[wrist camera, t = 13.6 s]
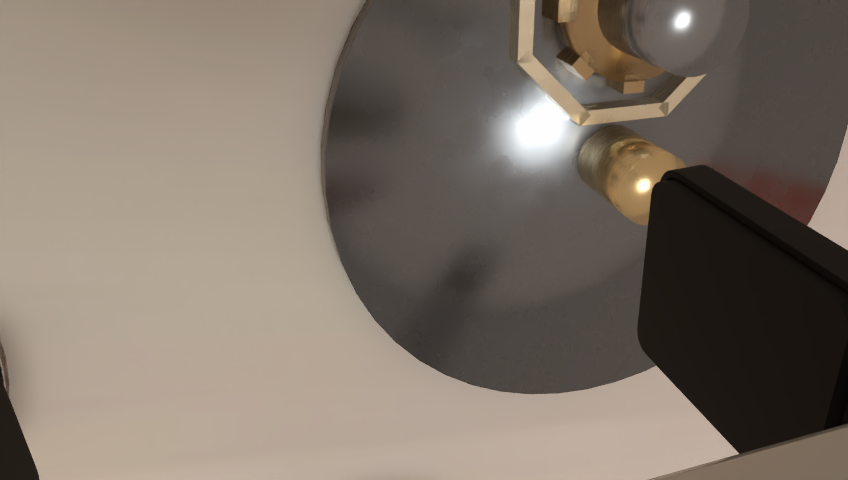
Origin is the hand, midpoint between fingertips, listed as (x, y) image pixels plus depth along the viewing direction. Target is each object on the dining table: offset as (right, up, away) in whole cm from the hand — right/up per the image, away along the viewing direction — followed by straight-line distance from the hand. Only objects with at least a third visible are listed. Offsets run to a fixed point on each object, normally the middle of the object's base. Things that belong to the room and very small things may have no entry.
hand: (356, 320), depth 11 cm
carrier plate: (+11, +7, +35) cm, 38 cm away
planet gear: (+11, +14, +30) cm, 35 cm away
